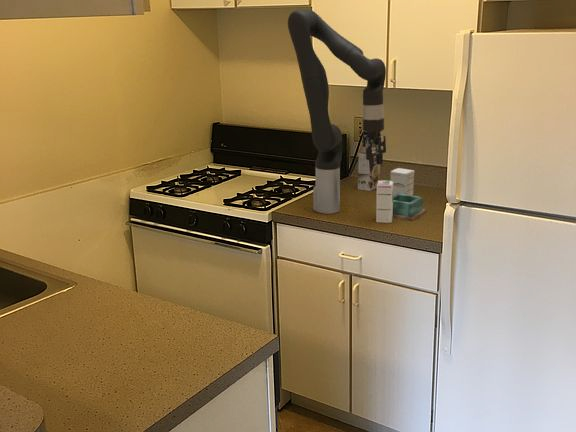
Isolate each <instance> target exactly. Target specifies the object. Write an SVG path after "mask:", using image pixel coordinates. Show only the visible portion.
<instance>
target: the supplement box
mask: <svg viewBox="0 0 576 432" xmlns="http://www.w3.org/2000/svg"><path fill="white" fill-rule="evenodd" d="M389 176H390V179H389V181H393V195H395V194H397V193H398V194H404V195H411V196H414V186H415V185H414V183H415V182H414V181H415V170H413V169H408V168H402V167H397V168H394V169H393V170H390V175H389Z"/></svg>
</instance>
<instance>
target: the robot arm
mask: <svg viewBox="0 0 576 432" xmlns="http://www.w3.org/2000/svg"><path fill="white" fill-rule="evenodd" d="M287 29H288V32H289V36H290V39H291V41H292V45H293V49H294V52H295V55H296V59H297V64H298V67H299V73H300V77H301V83H302V88H303V94H304V96H305V100H306V106H307V110H308V114H309V119H310V120H309V121H310V128H311V129H310V130H311V138H312V142H313V145H314V147H315V148H316V149H317V150H318V154H317V157H316V160H315V186H313V198H312V199H313V203H312V204H313V205H312V206H313V211H315V212H317V213H319V214H327V215H328V214H336V213H339V212H340V205H341V204H340V195H341V194H340V190H341V189H340V183H341V181H340V180H341V179H340V178H341V177H340V175H341V172H340V171H341V160H342V156H343V155H342V154H343V153H342V152H343V134H342V131H341V129H340V127H338V126H337V125H336V124H333V123H331V120H330V114H329V99H330V98H329V97H330V90H329V89H330V87H329V81H328V76H327V72H326V68H325V66H324V65H323V63H322V61H321V60H320V58H319V57H318V55H317V54H316V52H315V50H314V47H313V43H312V38H314V39H317V40H319V41H320V42H322V43H323V44H324V45H325V46H326V47H327V48H328V50H329V51H330V52H331V54H332V55H333V56H334V57H335V58H337V59H338V60H340V61H341V62H342V63H343V64H345V65H347V66H348V67H350V69H351V70H352V71H353V72H354V73H355V74H356V75H357V76H358V77H359V78H361V79H362V80H365V81H366V82H367V83H366V86H365V88H364V89H363V91H362V148H364V149H365V150H364V151H366V159H367V160H372V150H375V151H376V164H378V165H379V164H380V165H383V164H384V158H383V156H384V154H385V153H387V145H386V143H387V142H386V141H387V140H386V135H381V134H382V133H381V132H382V131H384V130H385V108H384V92H383V91H384V87H385V82H386V76H387V68H386V64H385V62H384V61H383V60H382V59H380V58H371V59H370V58H368V57H367V56H365V55H364V51H363V50H362V49H361V48H360V47H358V46H357V45H355V44H354V43H353V42H351V41H350V40H348V39H347V38H345V37H344V36H342V35H341V34H339V33H338V32H337V31H336V29H333V28H332V27H331V26H330V25H329V24H328V23H327V22H326V21H325V20H324V19H323V18H322V17H321V16H320V14H317V13H316V11H314V10H312V9H299V10H294V11H291V13H290V14H289V16H288V19H287ZM311 37H312V38H311Z"/></svg>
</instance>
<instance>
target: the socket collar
mask: <svg viewBox="0 0 576 432" xmlns="http://www.w3.org/2000/svg"><path fill="white" fill-rule="evenodd" d="M423 204H424V197H423V196H417V195H413V196H411V195H404V194H398V193H397V194H395V195H393V218H392V219H399V220H405V221H411V222H414V221H416V220H417V219H418V218H420V217H421V216H423V215H424V214H426V213H427V209H426V208H423Z"/></svg>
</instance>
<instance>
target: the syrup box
mask: <svg viewBox="0 0 576 432" xmlns="http://www.w3.org/2000/svg"><path fill="white" fill-rule="evenodd" d="M375 201H376V204H375V206H376V209H375V212H376V216H375V217H376V223H383V224H391V223H392V222H393V219H394V218H393V181H390V180H387V179H386V180H379V181H378V183H377V188H376V200H375Z"/></svg>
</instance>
